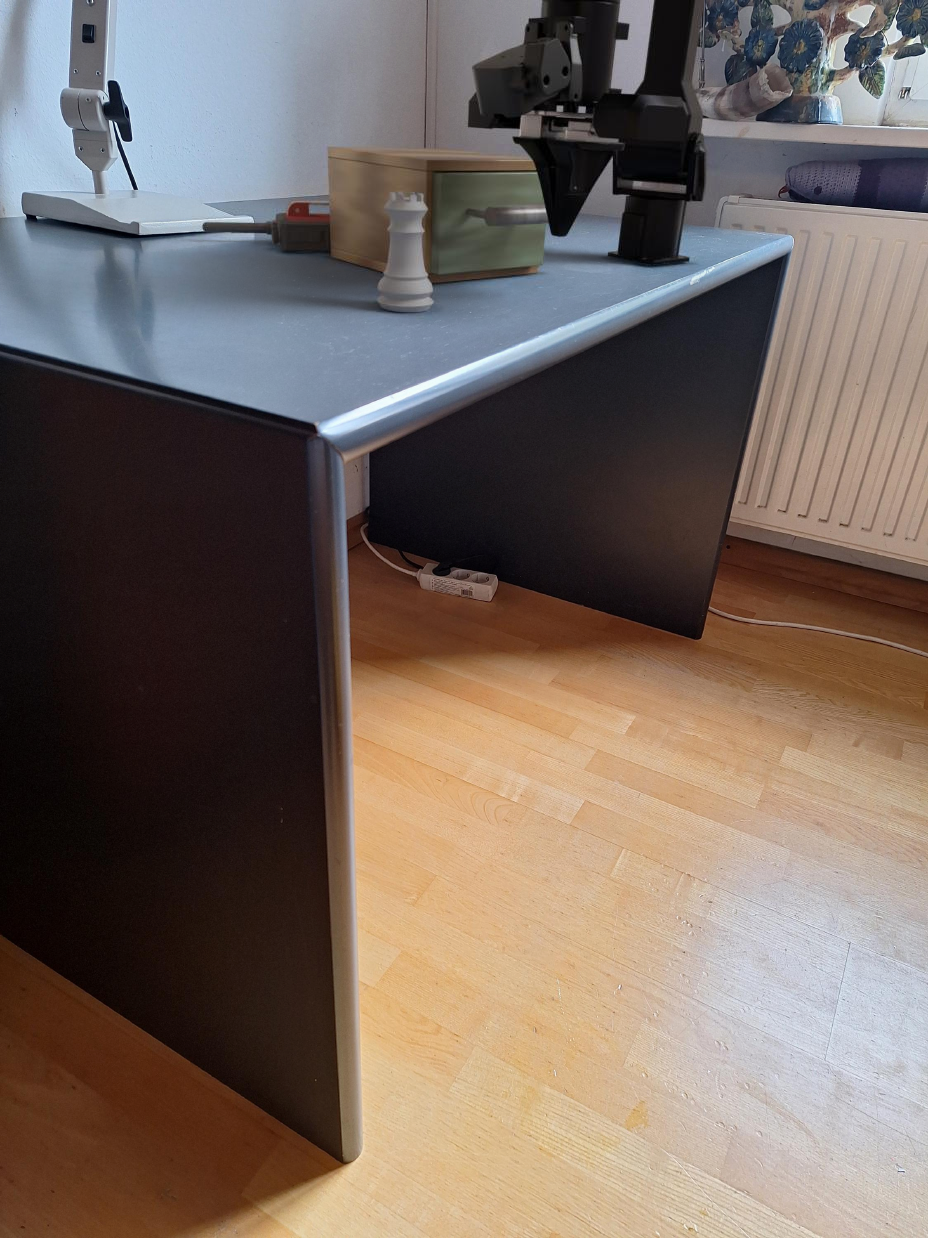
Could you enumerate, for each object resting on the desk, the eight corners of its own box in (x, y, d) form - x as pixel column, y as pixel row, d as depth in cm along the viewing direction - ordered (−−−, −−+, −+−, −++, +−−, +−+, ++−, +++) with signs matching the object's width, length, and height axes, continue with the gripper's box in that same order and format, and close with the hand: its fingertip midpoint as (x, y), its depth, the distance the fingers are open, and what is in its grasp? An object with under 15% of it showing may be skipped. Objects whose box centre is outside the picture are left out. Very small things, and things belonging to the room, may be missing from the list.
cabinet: (537, 272, 83) (547, 159, 78) (424, 284, 76) (426, 159, 71) (439, 249, 94) (442, 147, 89) (330, 257, 86) (327, 146, 81)
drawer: (572, 271, 79) (582, 176, 75) (466, 282, 72) (471, 177, 68) (448, 243, 91) (451, 159, 87) (348, 250, 84) (346, 159, 80)
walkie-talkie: (387, 240, 97) (203, 239, 92) (387, 197, 95) (198, 193, 90) (403, 253, 90) (204, 252, 85) (403, 206, 88) (199, 203, 83)
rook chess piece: (365, 307, 66) (363, 192, 62) (396, 298, 70) (396, 188, 66) (415, 315, 65) (417, 197, 60) (444, 306, 68) (447, 193, 64)
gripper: (416, -2, 65) (413, 225, 73) (595, -18, 52) (567, 258, 60) (526, 13, 71) (512, 221, 79) (710, 2, 58) (671, 250, 66)
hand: (558, 235), depth 71 cm, fingers closed
